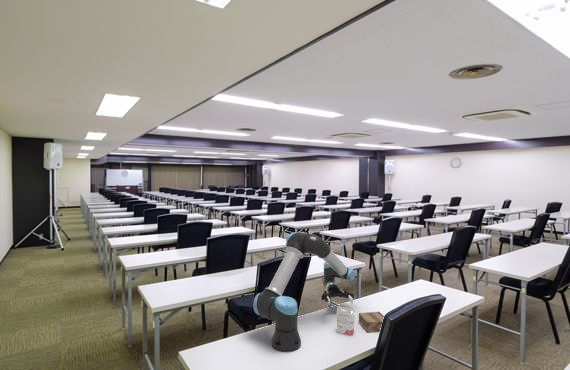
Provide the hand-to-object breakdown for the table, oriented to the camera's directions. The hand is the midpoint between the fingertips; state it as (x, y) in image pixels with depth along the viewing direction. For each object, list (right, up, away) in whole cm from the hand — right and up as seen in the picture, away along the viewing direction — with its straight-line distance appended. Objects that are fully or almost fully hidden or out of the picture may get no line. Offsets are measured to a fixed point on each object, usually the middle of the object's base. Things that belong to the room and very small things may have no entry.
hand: (341, 302), depth 190 cm
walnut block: (+18, -13, -4) cm, 23 cm away
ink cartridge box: (+1, -13, -10) cm, 17 cm away
